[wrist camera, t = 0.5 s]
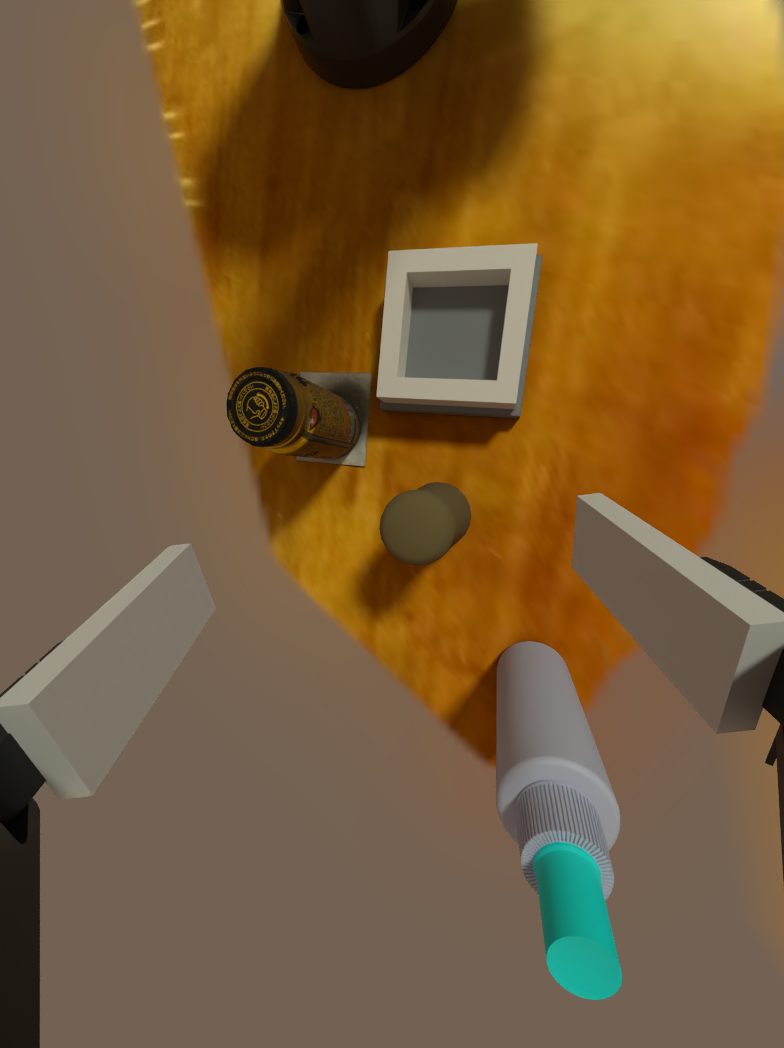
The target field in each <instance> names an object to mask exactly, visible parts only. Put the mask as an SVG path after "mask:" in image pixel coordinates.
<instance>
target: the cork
mask: <svg viewBox="0 0 784 1048" xmlns="http://www.w3.org/2000/svg"><path fill="white" fill-rule="evenodd" d="M470 518H471V512H470V506H469V503H468V501H467V499H466V498H465V496H464V495H463V494H462V493H461V492H460V491H459V490H458V489H457V488H455V487H453V486H451V485H449V484H447V483H440V482H435V483H429V484H426V485H424V486H422V487H420V488H419V489H417V490H411V491H405V492H403V493H401V494H399V495H397V496H396V497H394V498H393V499H392V500H391V501H390V502H389V503H388V504H387V506H386V508H385V510H384V512H383V514H382V516H381V522H380V534H381V539H382V541H383V543H384V545H385V547H386V549H387V550H388V551H389V552H390V554H391V555H392V556H393V557H394V558H396V559H398V560H400V561H402V562H403V563H407V564H412V565H425V564H430V563H432V562H434V561H436V560H438V559H440V558H441V557H442V556H443V555H444V554H445V553H446V552H447V551H448V550H449V548H450V546H451V545H452V544H454V543H456V542H458V541H459V540H460V539H461V538H462V537H463V536H464V535H465V533H466V531H467V529H468V527H469V524H470Z"/></svg>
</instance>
